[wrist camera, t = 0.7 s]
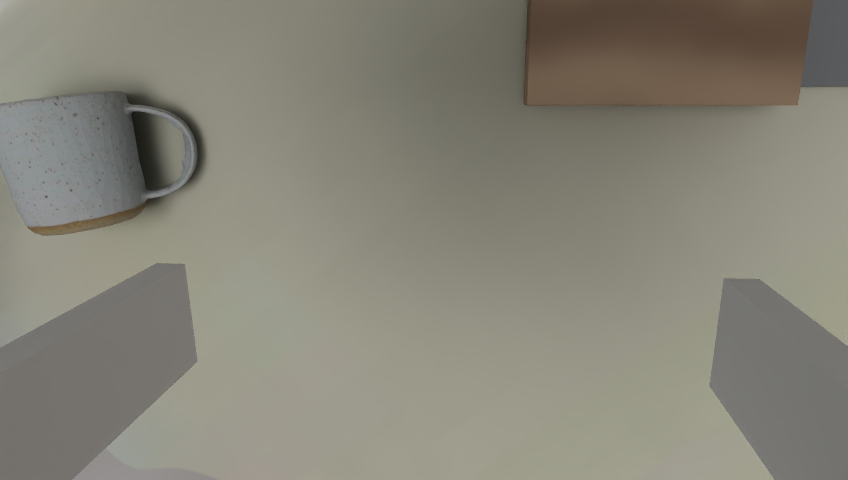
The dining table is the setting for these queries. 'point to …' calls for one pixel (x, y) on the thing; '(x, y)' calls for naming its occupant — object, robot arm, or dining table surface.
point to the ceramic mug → (79, 161)
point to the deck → (665, 52)
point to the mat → (827, 45)
